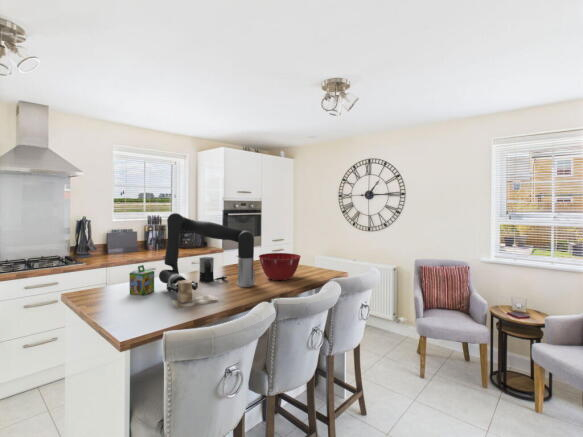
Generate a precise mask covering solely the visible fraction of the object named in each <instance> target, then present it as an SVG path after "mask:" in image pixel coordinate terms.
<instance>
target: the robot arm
mask: <svg viewBox="0 0 583 437" xmlns="http://www.w3.org/2000/svg"><path fill="white" fill-rule="evenodd" d="M166 225H167V238H166V246H165V247H166V248H165V255H164V261H163V262H164V265H166V266H169V267H171V268H172V269H162V270H161V271H159V273H158V274H159V275H158V278H159V280H160V282H161V283H163V284H166V290H167V291H168V292H169V293H171V292H174V293H176V294H178V281H182V280H187V279H186V278H185V277H184V276H183V275H181V274H180V273H179V268H178V267H179V265H178V264H179V263H178V261H179V254H180V253H179V252H180V250H179V249H180V248H179V247H180V245H179V244H180V242H179V239H180V232H181V231H183V232H189V233H194V234H196V235H199V236H201V237H202V236H203V237H204V238H205V237H206V238H210V239H215V240H225V241H232V242H236V243H238V244H237V245H238V246H237V248H238V249H237V250H238V251H237V254H238V256H237V263H238V264H237V287H240V288H250V287H253V286H255V280H256V279H255V277H256V276H255V273H256V272H255V269H254V263H255V262H254V257H255V254H254V253H255V252H254V251H255V250H254V249H255V236H254V234H253V232H252V231H250V230H243V229H237V228H231V227H229V226H227V225H224V224H219V223H215V222H212V221H207V220H194V219H190V218H187V217H185V216H182V214H180V213H177V212H173V213H170V214H169V216H168V217H167V220H166ZM191 282H192V291H193V290H194V291H196V290H197V289H198V287H199V283H198V282H197V281H195V280H191Z"/></svg>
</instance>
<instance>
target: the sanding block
mask: <svg viewBox="0 0 583 437" xmlns="http://www.w3.org/2000/svg"><path fill="white" fill-rule="evenodd" d="M192 298H193V289H192V280H190V279H186V280H182V281H178V293H177V300H178V301H179V302H180V303H181V304H187V303H192Z"/></svg>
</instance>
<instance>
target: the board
mask: <svg viewBox="0 0 583 437" xmlns="http://www.w3.org/2000/svg"><path fill="white" fill-rule="evenodd" d="M171 302H172V305H174V307H175V308H177V309H180V308H188V307H192V306H198V305H205V304H210V303H216V302H219V299H218V298H217V297H216V296H214V295H212V294H208V295H203V296H195V297H192V303H187V304H181V303H180V302H179V301H178V299H177V300H176V299H175V300H172V301H171Z"/></svg>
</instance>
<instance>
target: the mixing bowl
mask: <svg viewBox="0 0 583 437" xmlns="http://www.w3.org/2000/svg"><path fill="white" fill-rule="evenodd" d="M301 257H302V256H301V255H300V254H295V253H288V252H287V253H286V252H270V253H269V252H268V253H263V254H259V255H258V258H259V262H260V265H261V268H262V271H263V272H264V274H265V276H266V277H267V278H268V279H269V280H271V279H272V281H277V280H282V281H287V280H286V279H288V280H289V279H291V278H292V277H293V276H294V275H295V273H296V272H297V269H298V266H299V263H300V259H301Z"/></svg>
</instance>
